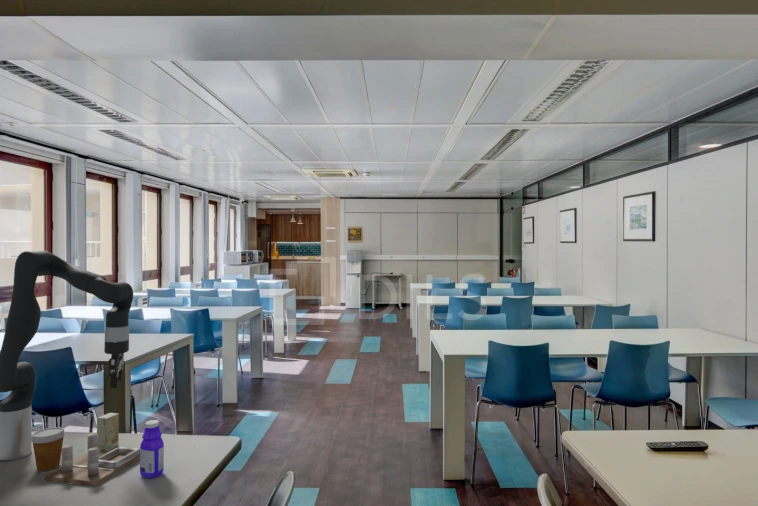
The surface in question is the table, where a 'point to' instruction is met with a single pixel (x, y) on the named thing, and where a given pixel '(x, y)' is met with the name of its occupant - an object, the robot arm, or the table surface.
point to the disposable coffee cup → (48, 447)
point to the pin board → (83, 472)
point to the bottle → (151, 451)
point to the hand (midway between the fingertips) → (116, 384)
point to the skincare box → (108, 431)
